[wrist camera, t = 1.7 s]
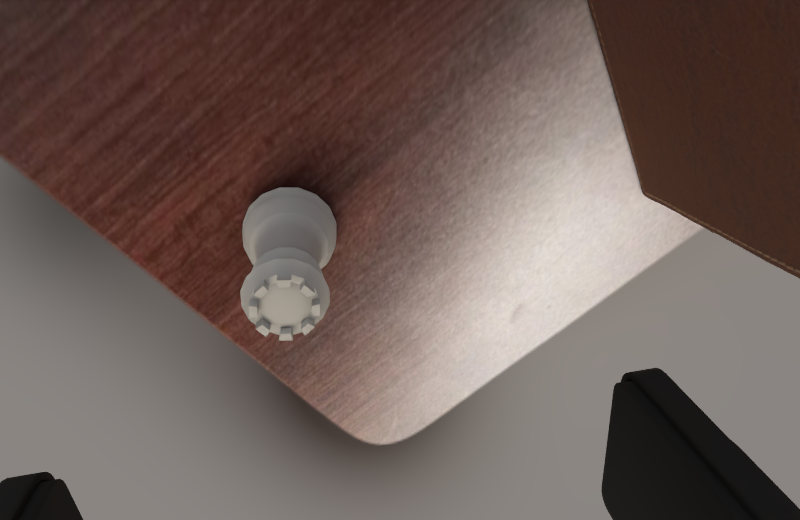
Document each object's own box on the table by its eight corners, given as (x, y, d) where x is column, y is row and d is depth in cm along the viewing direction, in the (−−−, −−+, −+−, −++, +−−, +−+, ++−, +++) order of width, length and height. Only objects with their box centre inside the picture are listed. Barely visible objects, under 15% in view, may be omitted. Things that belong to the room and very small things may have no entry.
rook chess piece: (279, 283, 28) (270, 382, 20) (223, 215, 26) (191, 298, 18) (353, 239, 27) (370, 323, 20) (302, 165, 25) (301, 230, 18)
